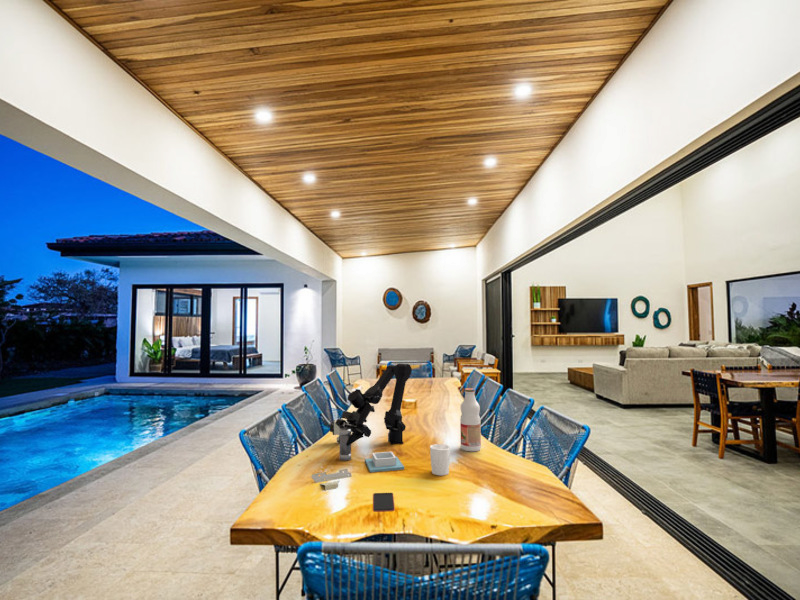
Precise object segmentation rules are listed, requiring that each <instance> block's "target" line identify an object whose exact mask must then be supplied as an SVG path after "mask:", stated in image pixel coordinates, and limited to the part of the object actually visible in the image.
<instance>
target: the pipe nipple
mask: <svg viewBox="0 0 800 600" xmlns="http://www.w3.org/2000/svg"><path fill="white" fill-rule="evenodd" d="M351 434H352V432H351V428H349V427H343V428H340V429H339V435H340V444H339V460H340V461H341V462H342V461H344V462H345V461H347V462H348V461H350V460H352V444H350V445H349V446H347V445H346V444H347V442H348V440H349V438H350V436H351ZM339 435H338V436H339Z"/></svg>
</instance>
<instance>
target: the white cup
mask: <svg viewBox="0 0 800 600" xmlns="http://www.w3.org/2000/svg"><path fill="white" fill-rule="evenodd" d="M429 450H430V452H429V453H430V454H429V455H430V466H431V473H432V474H433V475H434V476H435V475H436V476H447V475H449V472H450V463H451V462H450V460H451V459H450V457H451V446H449V445H447V444H443V443H434V444H431V445H430V446H429Z"/></svg>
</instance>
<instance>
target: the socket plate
mask: <svg viewBox="0 0 800 600" xmlns="http://www.w3.org/2000/svg"><path fill="white" fill-rule="evenodd" d="M371 455H372V456H371V458H369V457H368V458H364V462H365V465H366V466H367V469H368V470H369V472H370V473H377V472H380V471H381V472H389V471H391V470H392V471H400V470H401V471H402V470H405V466H404V464H403V463H402V461H401V460H400V459H399V458H398V456H397V455H395V454H394V452H393V451H382V452H372V454H371Z"/></svg>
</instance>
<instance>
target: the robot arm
mask: <svg viewBox="0 0 800 600" xmlns="http://www.w3.org/2000/svg"><path fill="white" fill-rule="evenodd" d="M412 369H413V368H412V367H411V364H408V363H397V364H396V365H394V364H389V365H387V366H386V369H385V370H384V372H382V374H381V375H380V377H378V378H379V379H378V380H377V381H376V383H375V384H373V385H372V386H371V387H368V389H367V390H366V391H364V393H362V391H361V390H360V389H358V388H356V389H355V390H353V391H352V392H350V393H349V394H348V395H347V401H348V402H349V403H350V404H351V405H352V406H353V407H354V408H355V409H356V410H353V411H346V410H343V411H342V413H341V418H338V419H336V420H337V421H336V425H337V426H338V427H339V428H343V427H349V428H351V429H352V432H351V436H350V438H349V440H348V442H347V444H346V445H347V446H349V445H350V444H351V445H352V444H353V443H355V442H356V441H359V439H362V438H364V437H366V438H370V436H371V434H372V430H371V429H370V428H369V427H368V425H367V424H364V423H367V422H368V420H367V418H368V416H369V415H370V413H375V406H374V405H378V404H379V403H380V401H381V399H382V397H383V392H384V390H385V389H386V387H387V386H388V384H389V383H390V381H391V380H392V378H393V377H395V385H394V388H393V395H392V399H391V403H390V408H389V409H388V410H386V411H385V412H384V417H383V420H384V421H383V424H384V425H385V429H386V430H388V433H387V442H388V443H389V444H390V445H402V444H404V441H403V440H404V438H403V434H404V433H403V432H404V431H405V430H406V428H407V427H406V424H405V423H404V422H403V414H402V411H401V408H402V403H403V398H404V392H405V388H406V383H407V381H408V380H409V379H410V377H411V374H412V372H413V370H412ZM371 404H372V405H371ZM342 419H343V420H342ZM345 420H346V421H347V422H349V424H348V423H347V422H346V421H345ZM338 443H339V444H338ZM337 444H338V445H340V437H339V441H338V442H337Z"/></svg>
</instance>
